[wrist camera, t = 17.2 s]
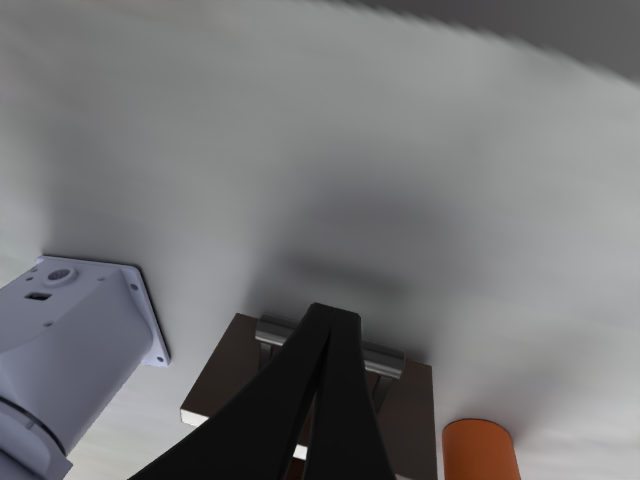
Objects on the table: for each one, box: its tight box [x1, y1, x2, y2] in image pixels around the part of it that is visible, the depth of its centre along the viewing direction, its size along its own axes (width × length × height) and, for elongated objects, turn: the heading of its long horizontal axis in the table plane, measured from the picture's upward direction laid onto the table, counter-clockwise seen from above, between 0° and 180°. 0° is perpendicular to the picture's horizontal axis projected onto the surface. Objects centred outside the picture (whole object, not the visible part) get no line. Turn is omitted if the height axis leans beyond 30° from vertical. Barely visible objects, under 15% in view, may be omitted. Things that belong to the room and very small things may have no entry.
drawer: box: [180, 313, 438, 480], centre depth 22 cm, size 18×12×7 cm
